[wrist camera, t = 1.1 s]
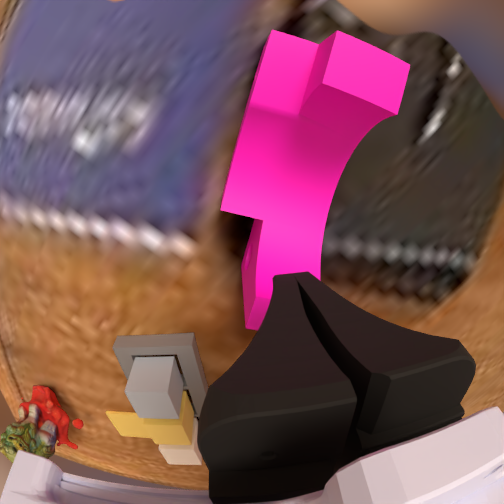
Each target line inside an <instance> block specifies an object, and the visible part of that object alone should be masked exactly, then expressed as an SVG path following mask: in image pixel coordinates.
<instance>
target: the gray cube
mask: <svg viewBox="0 0 504 504" xmlns="http://www.w3.org/2000/svg"><path fill="white" fill-rule="evenodd" d="M183 385H184V383H183V381H182V378H181V375H180V372H179V369H178V366H177V363H176V360H175V357H174V356H167V357H135V360H134V363H133V366H132V369H131V372H130V376H129V379H128V382H127V385H126V388H125V394H126V395H127V397H128V399H129V401H130V403H131V405H132V406H133V408H134V410H135V412H136V413H137V415H138V417H139V418H154V419H179V416H180V408H181V400H182V392H183Z"/></svg>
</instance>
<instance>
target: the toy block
mask: <svg viewBox="0 0 504 504" xmlns="http://www.w3.org/2000/svg"><path fill="white" fill-rule="evenodd" d="M409 68H410V65H409V64H407V63H406V62H404V61H402V60H400V59H398V58H396V57H394V56H392V55H390V54H389V53H387V52H385V51H382V50H380V49H378V48H376V47H374V46H372V45H370V44H368V43H366V42H363V41H361V40H359V39H357V38H354V37H352V36H350V35H347V34H345V33H342V32H340V31H336V32H335V33H333V34H332V35H331V36H329V37H328V38H327V39H325V40H324V41H323V42H322V43H320V44H316V43H313V42H310V41H307V40H304V39H301V38H298V37H295V36H292V35H289V34H285V33H282V32H278V31H275V30H272V31H271V33H270V35H269V37H268V39H267V41H266V44H265V46H264V48H263V51H262V55H261V58H260V61H259V64H258V68H257V71H256V74H255V78H254V81H253V85H252V88H251V91H250V95H249V98H248V102H247V105H246V109H245V112H244V116H243V119H242V123H241V127H240V130H239V134H238V138H237V141H236V145H235V149H234V152H233V156H232V160H231V164H230V168H229V171H228V175H227V179H226V183H225V187H224V191H223V195H222V202H221V210H222V211H226V212H230V213H235V214H239V215H243V216H247V217H252V218H255V219H254V223H253V226H252V230H251V233H250V237H249V240H248V244H247V247H246V251H245V254H244V258H243V261H242V265H241V268H242V283H243V298H244V313H245V327H246V328H247V329H252V330H258V329H259V328H260V326H261V324H262V321H263V319H264V317H265V314H266V312H267V309H268V307H269V303H270V300H271V296H272V291H273V280H272V278H273V277H274V276H275V275H279V274H288V273H297V272H306V271H308V272H310V273H311V274H313V275H314V276H315V277H316V278H318V279H319V280H320V260H321V248H322V241H323V234H324V229H325V224H326V219H327V215H328V211H329V207H330V204H331V201H332V197H333V194H334V191H335V189H336V186H337V183H338V181H339V178H340V176H341V174H342V171H343V169H344V167H345V165H346V163H347V161H348V160H349V158H350V156H351V154H352V153H353V151H354V149H355V148H356V146H357V145H358V143H359V142H360V141H361V140H362V138H363V137H364V136H365V135H366V134H367V133H368V131H369V130H371V129H372V128H373V127H374V126H375V125H376V124H378V123H379V122H380V121H382V120H384V119H386V118H388V117H390V116H394V115H397V114H398V110H399V107H400V103H401V99H402V96H403V92H404V88H405V84H406V80H407V76H408V72H409Z"/></svg>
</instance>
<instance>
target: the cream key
mask: <svg viewBox="0 0 504 504" xmlns="http://www.w3.org/2000/svg"><path fill="white" fill-rule="evenodd" d="M197 433H198V421H197V419H196V418H194V419H193V432H192V445H165V444H159V450H160V452H161V453H162V455H163V456H164V458H165V459H166V461H167V462H168V464H179V465H202V455H201V453H200V451H199V449H198V444H197Z"/></svg>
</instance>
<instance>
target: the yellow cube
mask: <svg viewBox="0 0 504 504" xmlns="http://www.w3.org/2000/svg"><path fill="white" fill-rule="evenodd" d="M193 419H194V411H193V408H192V405H191V403H190V400H189V397H188V395H187V392H186V391H183V392H182V400H181V408H180V416H179V419H154V418H144V422H143V425H144V427H145V428H146V430H147V432H148V433H149V435H150V437H151V438H152V440H153V441H154V443H155V444H165V445H192V432H193Z"/></svg>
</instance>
